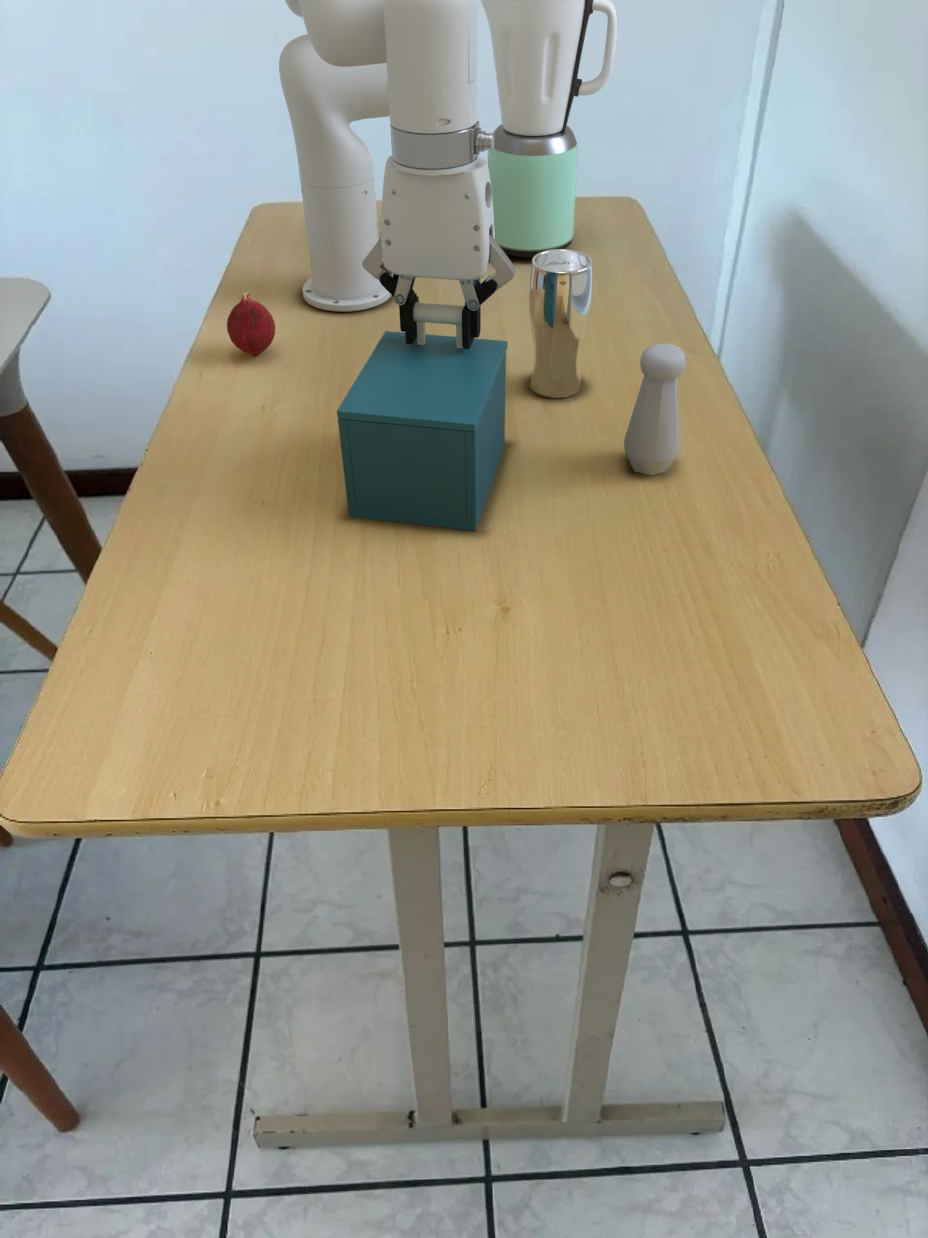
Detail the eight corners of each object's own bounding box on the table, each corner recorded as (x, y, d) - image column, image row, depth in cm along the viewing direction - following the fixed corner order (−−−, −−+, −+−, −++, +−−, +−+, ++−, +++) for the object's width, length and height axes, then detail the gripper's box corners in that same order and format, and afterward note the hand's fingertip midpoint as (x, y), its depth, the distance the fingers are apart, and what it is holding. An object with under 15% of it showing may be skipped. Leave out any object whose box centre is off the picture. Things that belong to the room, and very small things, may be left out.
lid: (385, 337, 99) (382, 290, 96) (507, 347, 97) (508, 300, 94) (337, 418, 87) (331, 368, 84) (475, 432, 85) (474, 380, 82)
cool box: (390, 434, 106) (383, 341, 99) (504, 445, 104) (506, 351, 96) (348, 516, 94) (337, 419, 87) (475, 531, 92) (475, 432, 85)
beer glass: (581, 403, 110) (591, 275, 100) (521, 397, 111) (525, 270, 101) (587, 374, 115) (597, 249, 105) (530, 369, 116) (535, 246, 106)
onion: (284, 361, 119) (274, 299, 114) (238, 369, 118) (226, 307, 112) (273, 341, 123) (263, 280, 118) (228, 350, 122) (217, 288, 116)
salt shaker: (680, 454, 102) (698, 339, 93) (674, 483, 98) (693, 366, 89) (625, 446, 103) (638, 333, 95) (617, 475, 99) (630, 359, 90)
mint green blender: (470, 263, 141) (468, -19, 118) (477, 230, 151) (476, -36, 128) (600, 266, 140) (624, -19, 116) (598, 233, 150) (620, -36, 126)
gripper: (537, 137, 85) (531, 331, 97) (353, 128, 88) (369, 318, 100) (524, 163, 79) (518, 365, 91) (327, 153, 82) (347, 350, 94)
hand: (440, 338), depth 95 cm, fingers closed on lid, 5 cm apart
